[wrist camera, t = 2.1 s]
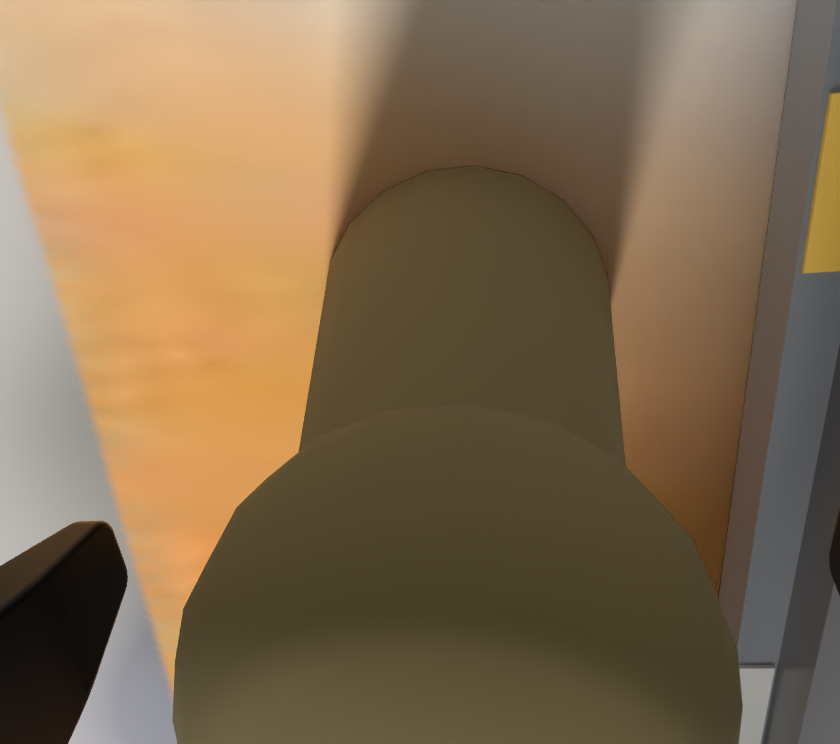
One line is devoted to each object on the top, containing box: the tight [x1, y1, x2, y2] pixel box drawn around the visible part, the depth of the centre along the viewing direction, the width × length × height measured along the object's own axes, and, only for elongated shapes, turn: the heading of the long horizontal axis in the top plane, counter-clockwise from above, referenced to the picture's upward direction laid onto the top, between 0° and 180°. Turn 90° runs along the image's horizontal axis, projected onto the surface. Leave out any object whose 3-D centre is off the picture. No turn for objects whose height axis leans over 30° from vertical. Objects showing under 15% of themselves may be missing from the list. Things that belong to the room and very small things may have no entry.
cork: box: [173, 166, 743, 744], centre depth 10 cm, size 6×6×11 cm
